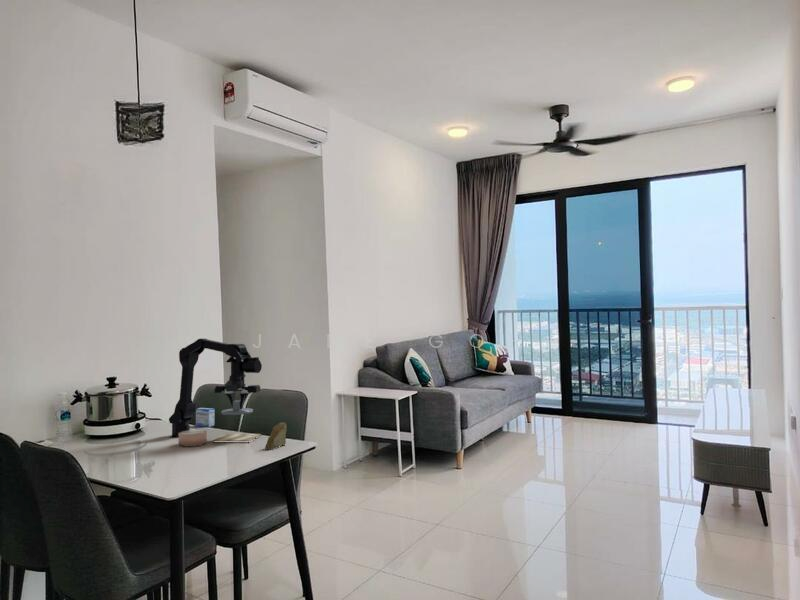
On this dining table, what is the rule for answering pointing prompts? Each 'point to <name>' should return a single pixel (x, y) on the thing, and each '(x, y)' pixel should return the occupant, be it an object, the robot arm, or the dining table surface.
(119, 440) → the dining table surface
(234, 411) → the lid
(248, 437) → the board
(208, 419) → the medicine box
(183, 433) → the bowl
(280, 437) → the rock
